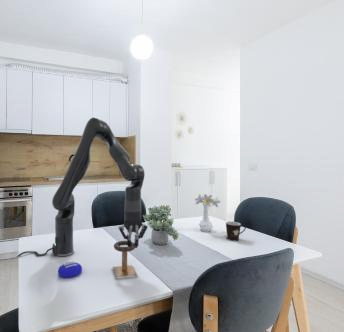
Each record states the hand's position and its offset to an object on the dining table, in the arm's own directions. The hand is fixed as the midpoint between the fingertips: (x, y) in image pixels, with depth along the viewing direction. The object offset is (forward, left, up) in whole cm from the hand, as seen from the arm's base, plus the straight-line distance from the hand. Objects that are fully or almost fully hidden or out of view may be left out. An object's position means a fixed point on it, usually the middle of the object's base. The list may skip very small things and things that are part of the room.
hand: (132, 247), depth 109 cm
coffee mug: (+73, +28, -12) cm, 79 cm away
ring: (-4, 0, +1) cm, 4 cm away
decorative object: (-28, +3, -12) cm, 30 cm away
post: (-4, 0, -11) cm, 12 cm away
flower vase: (+65, +49, -12) cm, 82 cm away
